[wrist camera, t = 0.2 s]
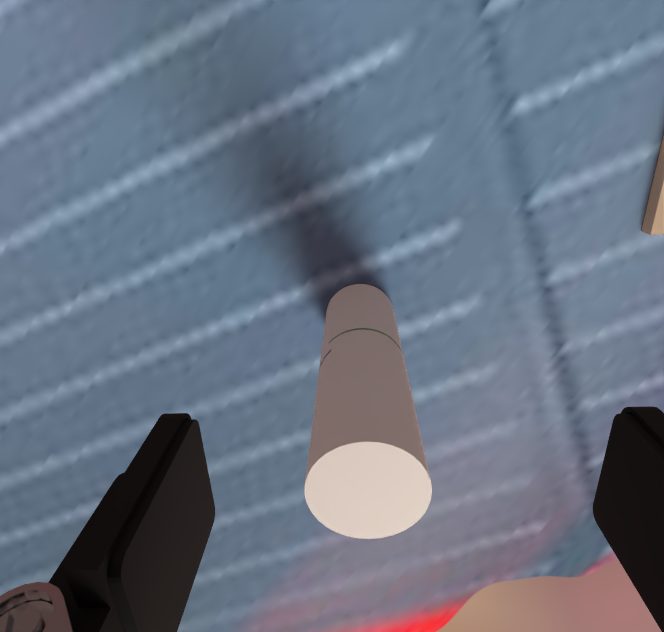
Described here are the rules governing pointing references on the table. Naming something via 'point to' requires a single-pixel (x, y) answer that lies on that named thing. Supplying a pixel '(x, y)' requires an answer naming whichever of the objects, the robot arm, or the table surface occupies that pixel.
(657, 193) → the plate
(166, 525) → the robot arm
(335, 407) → the cylindrical container
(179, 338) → the table surface
